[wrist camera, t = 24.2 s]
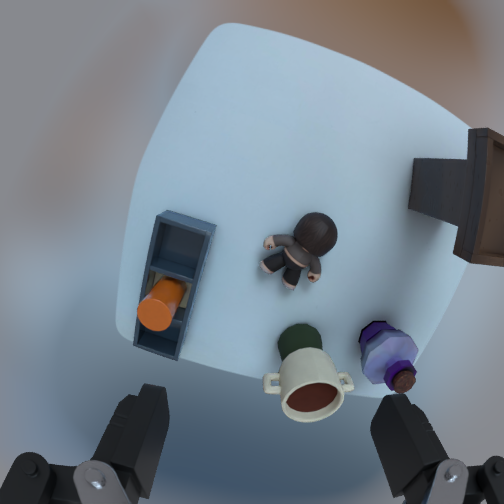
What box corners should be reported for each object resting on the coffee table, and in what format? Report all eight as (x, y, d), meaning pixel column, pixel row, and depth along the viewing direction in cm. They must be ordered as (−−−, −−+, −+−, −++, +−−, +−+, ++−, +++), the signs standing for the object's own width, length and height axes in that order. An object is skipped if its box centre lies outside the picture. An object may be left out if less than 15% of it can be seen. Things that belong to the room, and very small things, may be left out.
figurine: (301, 284, 39) (351, 232, 35) (302, 306, 35) (359, 248, 31) (252, 249, 38) (301, 190, 34) (246, 268, 34) (302, 202, 29)
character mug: (259, 358, 41) (261, 423, 29) (263, 317, 39) (266, 379, 27) (330, 358, 41) (351, 419, 29) (339, 319, 39) (368, 377, 27)
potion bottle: (400, 346, 41) (432, 392, 30) (352, 364, 42) (375, 417, 30) (397, 302, 39) (437, 346, 27) (344, 322, 40) (371, 374, 28)
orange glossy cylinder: (153, 288, 37) (131, 317, 30) (167, 266, 36) (146, 291, 29) (177, 305, 38) (161, 337, 30) (192, 284, 37) (178, 313, 29)
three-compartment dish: (142, 330, 40) (132, 345, 36) (167, 209, 35) (156, 215, 31) (183, 344, 41) (177, 361, 37) (216, 225, 36) (211, 232, 32)
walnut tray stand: (384, 219, 35) (470, 263, 18) (393, 138, 32) (487, 127, 15) (458, 232, 36) (543, 271, 18) (468, 161, 32) (559, 171, 15)
